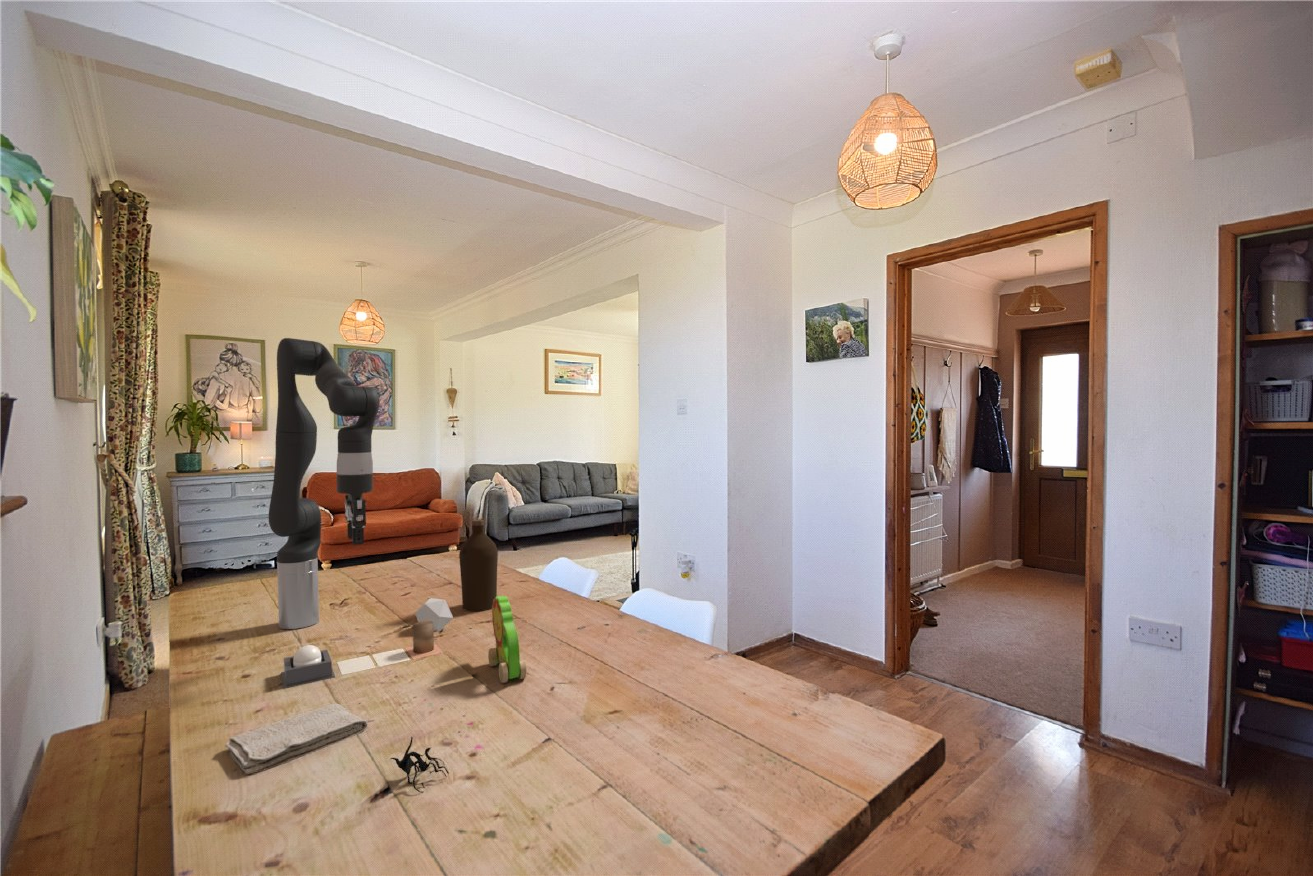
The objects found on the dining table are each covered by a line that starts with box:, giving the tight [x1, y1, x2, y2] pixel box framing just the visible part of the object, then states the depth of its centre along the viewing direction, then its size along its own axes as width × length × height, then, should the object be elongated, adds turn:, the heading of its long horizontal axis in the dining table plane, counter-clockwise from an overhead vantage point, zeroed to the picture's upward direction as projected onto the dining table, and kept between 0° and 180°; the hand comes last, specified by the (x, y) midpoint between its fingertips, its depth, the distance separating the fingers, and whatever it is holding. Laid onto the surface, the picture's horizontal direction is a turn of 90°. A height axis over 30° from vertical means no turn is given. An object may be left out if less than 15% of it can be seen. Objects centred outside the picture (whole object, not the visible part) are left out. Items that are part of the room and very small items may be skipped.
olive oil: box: [458, 518, 499, 612], centre depth 172 cm, size 11×11×25 cm
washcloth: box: [225, 702, 368, 775], centre depth 99 cm, size 12×18×3 cm, turn 140°
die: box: [414, 597, 454, 633], centre depth 152 cm, size 8×9×10 cm
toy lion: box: [487, 595, 527, 684], centre depth 127 cm, size 16×5×15 cm, turn 27°
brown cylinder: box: [412, 621, 435, 654], centre depth 136 cm, size 4×4×6 cm
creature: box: [390, 736, 450, 793], centre depth 88 cm, size 8×5×8 cm
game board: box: [336, 642, 444, 676], centre depth 132 cm, size 10×22×1 cm, turn 124°
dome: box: [293, 644, 321, 668], centre depth 123 cm, size 5×5×6 cm
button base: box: [280, 649, 336, 689], centre depth 123 cm, size 9×9×4 cm
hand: (355, 541), depth 139 cm, fingers open, 8 cm apart
